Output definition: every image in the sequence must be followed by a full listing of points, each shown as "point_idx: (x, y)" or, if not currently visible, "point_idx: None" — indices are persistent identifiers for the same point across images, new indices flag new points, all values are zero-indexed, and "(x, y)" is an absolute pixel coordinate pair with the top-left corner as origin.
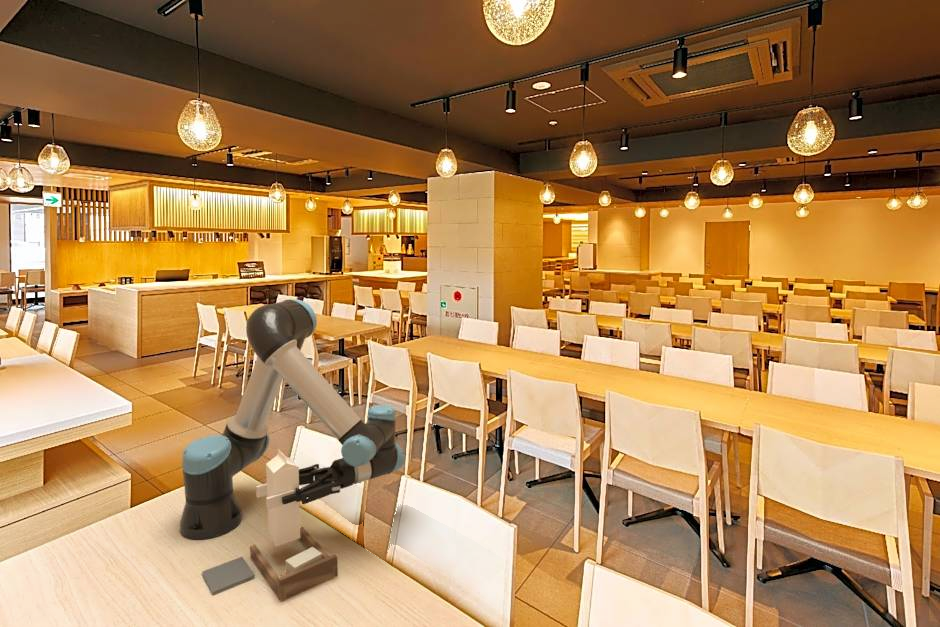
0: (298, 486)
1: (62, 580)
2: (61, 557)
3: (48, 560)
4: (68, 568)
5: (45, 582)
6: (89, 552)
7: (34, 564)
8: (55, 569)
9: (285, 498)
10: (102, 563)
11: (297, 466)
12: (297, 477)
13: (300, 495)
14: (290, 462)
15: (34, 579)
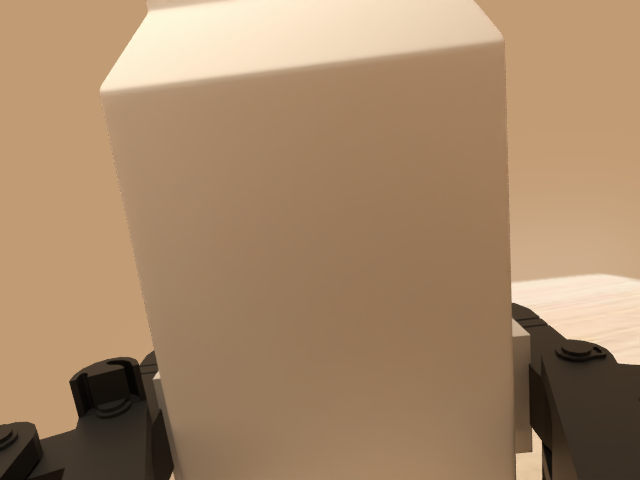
0: (167, 392)
1: (530, 309)
2: (621, 300)
3: (613, 293)
4: (573, 309)
5: (532, 299)
6: (636, 319)
7: (602, 286)
8: (575, 300)
9: (150, 354)
10: (579, 334)
11: (103, 82)
12: (143, 258)
13: (51, 437)
14: (219, 34)
15: (547, 291)
